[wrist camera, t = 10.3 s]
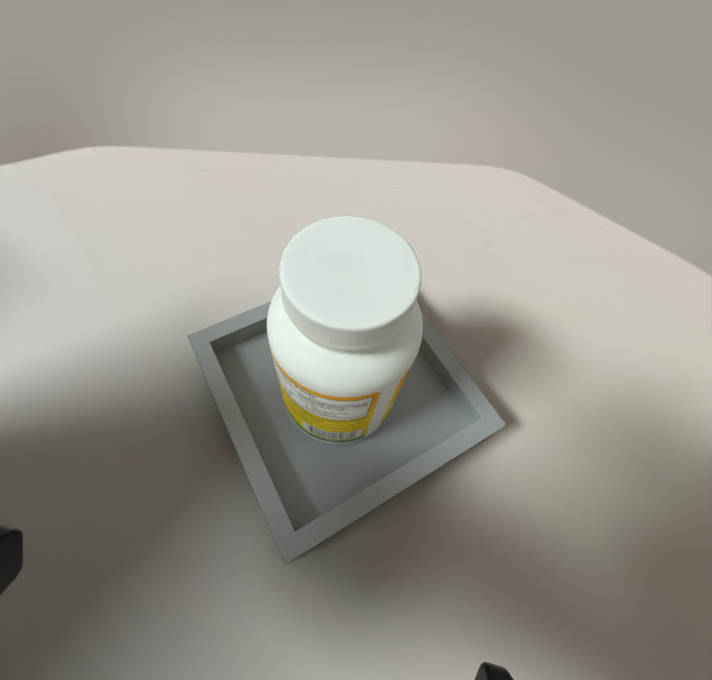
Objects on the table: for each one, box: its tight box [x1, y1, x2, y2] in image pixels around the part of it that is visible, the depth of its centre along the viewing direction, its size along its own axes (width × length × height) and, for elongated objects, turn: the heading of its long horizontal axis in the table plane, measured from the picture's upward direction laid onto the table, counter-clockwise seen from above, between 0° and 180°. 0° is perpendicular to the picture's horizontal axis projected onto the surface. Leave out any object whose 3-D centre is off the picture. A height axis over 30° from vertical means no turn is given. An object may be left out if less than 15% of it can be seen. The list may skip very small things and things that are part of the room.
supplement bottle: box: [267, 216, 423, 444], centre depth 15 cm, size 5×5×10 cm
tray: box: [187, 302, 506, 564], centre depth 19 cm, size 11×11×2 cm
